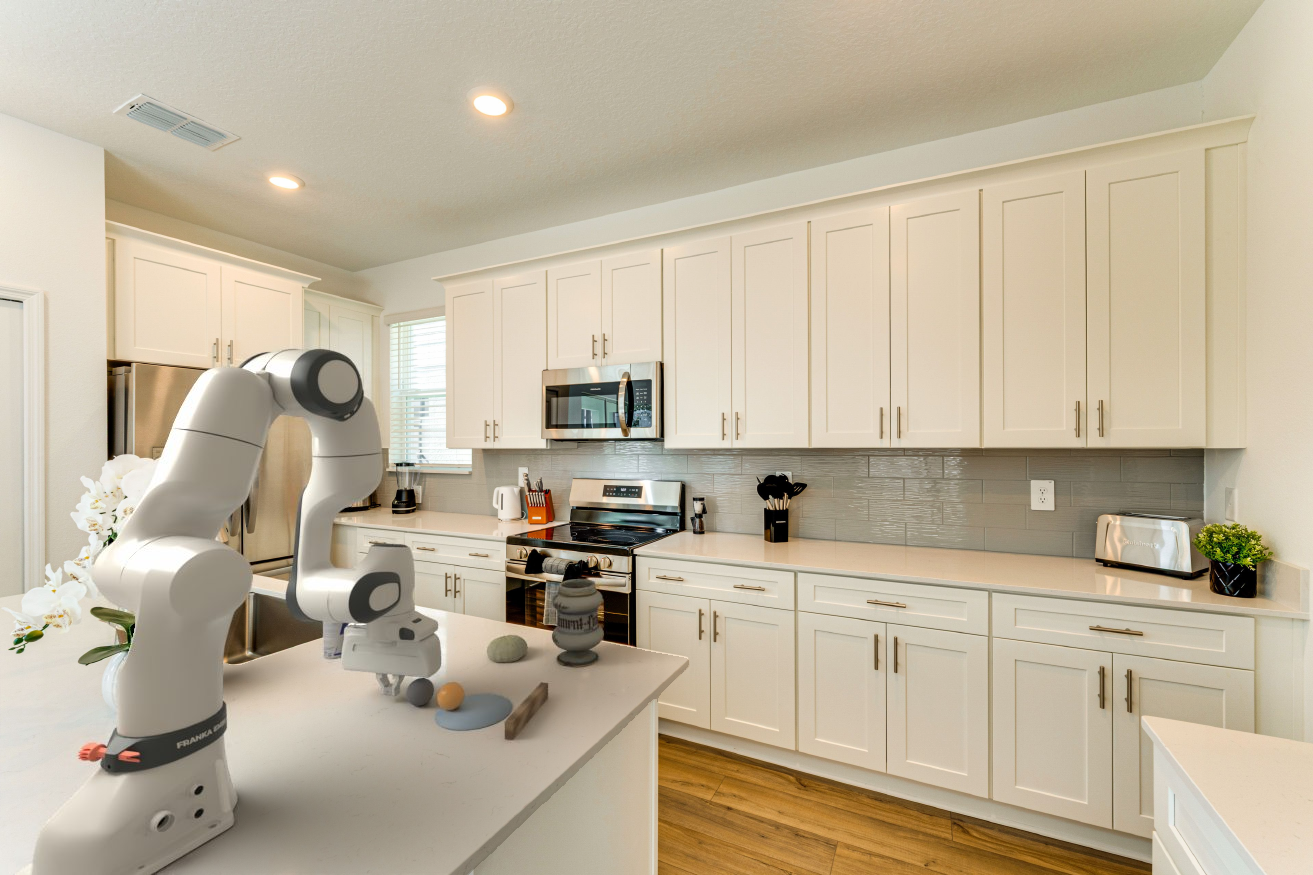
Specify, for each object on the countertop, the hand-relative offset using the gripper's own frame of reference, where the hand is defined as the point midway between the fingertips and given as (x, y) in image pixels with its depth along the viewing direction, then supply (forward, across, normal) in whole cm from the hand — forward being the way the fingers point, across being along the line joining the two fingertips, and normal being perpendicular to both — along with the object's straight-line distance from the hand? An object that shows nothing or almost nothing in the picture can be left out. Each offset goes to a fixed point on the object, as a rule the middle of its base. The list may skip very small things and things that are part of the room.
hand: (390, 694), depth 111 cm
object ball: (-1, +13, 0) cm, 13 cm away
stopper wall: (+2, +29, 0) cm, 29 cm away
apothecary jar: (+2, +29, +28) cm, 40 cm away
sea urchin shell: (+2, +12, +26) cm, 29 cm away
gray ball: (-1, +6, 0) cm, 6 cm away
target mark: (+2, +18, 0) cm, 18 cm away
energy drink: (+2, -29, +19) cm, 35 cm away
